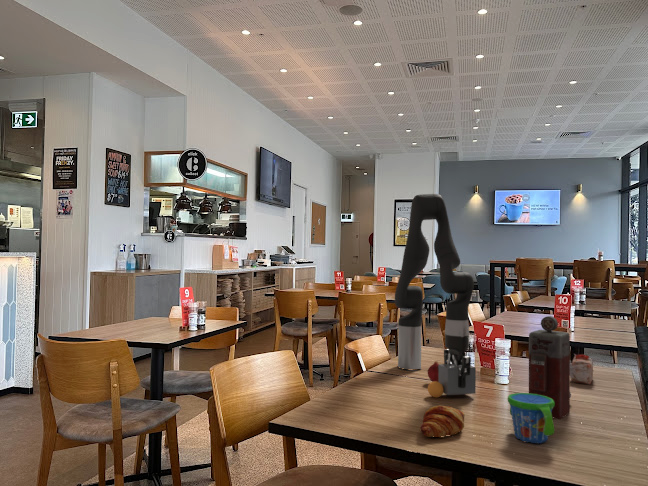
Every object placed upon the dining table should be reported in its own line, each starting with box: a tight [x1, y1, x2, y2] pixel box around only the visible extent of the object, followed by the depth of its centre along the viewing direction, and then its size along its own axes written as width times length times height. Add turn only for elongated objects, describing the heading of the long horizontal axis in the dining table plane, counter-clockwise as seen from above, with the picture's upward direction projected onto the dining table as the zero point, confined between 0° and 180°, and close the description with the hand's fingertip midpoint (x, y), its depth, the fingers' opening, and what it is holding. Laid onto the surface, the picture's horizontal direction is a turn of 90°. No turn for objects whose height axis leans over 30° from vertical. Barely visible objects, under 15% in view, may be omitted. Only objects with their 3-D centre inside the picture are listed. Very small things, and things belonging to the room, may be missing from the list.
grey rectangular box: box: [438, 363, 477, 396], centre depth 163 cm, size 6×10×8 cm, turn 103°
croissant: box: [420, 405, 465, 438], centre depth 130 cm, size 21×10×8 cm, turn 140°
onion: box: [427, 360, 439, 382], centre depth 179 cm, size 6×6×8 cm
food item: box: [570, 353, 594, 385], centre depth 187 cm, size 14×8×10 cm, turn 152°
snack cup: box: [507, 392, 555, 444], centre depth 125 cm, size 16×10×10 cm
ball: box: [427, 381, 444, 398], centre depth 161 cm, size 5×5×5 cm
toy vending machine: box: [528, 315, 571, 420], centre depth 146 cm, size 9×11×28 cm
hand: (456, 384), depth 163 cm, fingers closed on grey rectangular box, 6 cm apart
